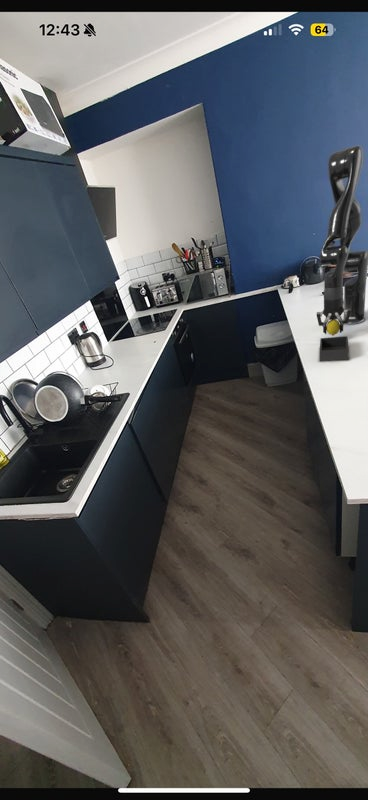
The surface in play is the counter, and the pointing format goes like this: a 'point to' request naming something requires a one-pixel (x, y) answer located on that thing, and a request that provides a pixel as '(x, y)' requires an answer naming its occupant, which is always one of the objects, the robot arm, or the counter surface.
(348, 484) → the counter surface
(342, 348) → the tote
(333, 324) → the lemon
